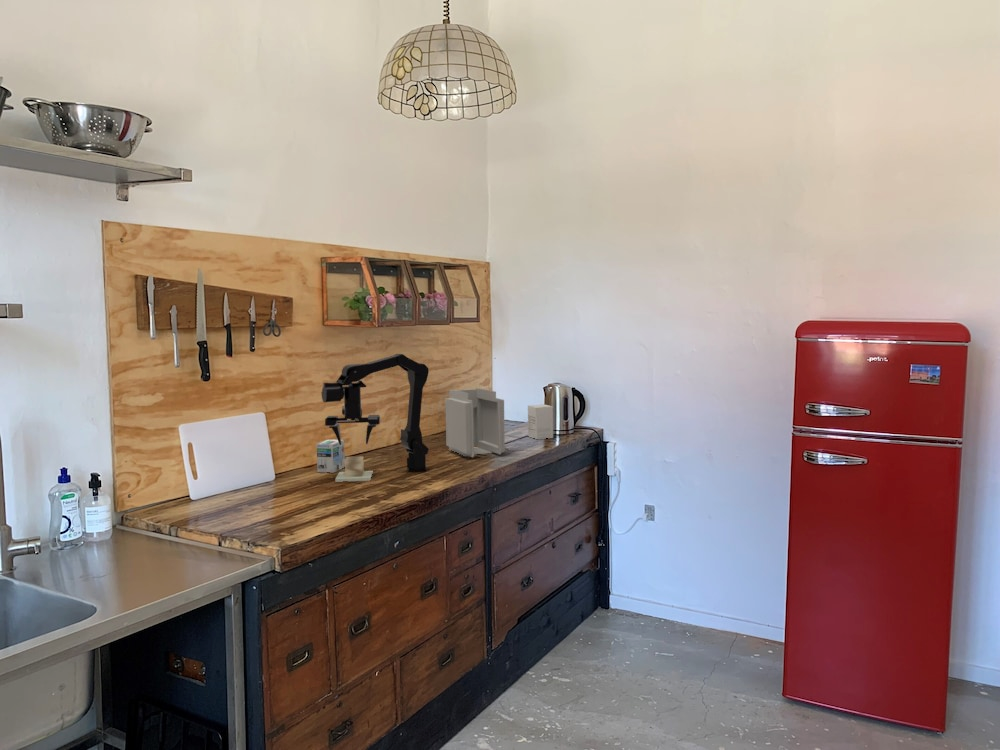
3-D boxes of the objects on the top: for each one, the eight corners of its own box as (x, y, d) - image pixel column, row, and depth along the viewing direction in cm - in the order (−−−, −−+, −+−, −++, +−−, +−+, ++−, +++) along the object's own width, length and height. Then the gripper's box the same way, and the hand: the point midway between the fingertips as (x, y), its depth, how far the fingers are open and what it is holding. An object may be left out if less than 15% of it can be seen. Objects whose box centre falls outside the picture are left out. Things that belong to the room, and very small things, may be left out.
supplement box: (544, 435, 347) (544, 404, 346) (553, 438, 339) (553, 406, 337) (527, 437, 343) (527, 405, 342) (536, 439, 335) (535, 407, 334)
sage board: (373, 473, 267) (372, 470, 267) (370, 480, 255) (370, 477, 255) (339, 474, 266) (339, 471, 266) (335, 481, 254) (335, 479, 254)
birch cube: (364, 472, 264) (363, 456, 263) (362, 476, 258) (362, 459, 257) (347, 473, 263) (346, 456, 263) (345, 476, 257) (344, 460, 257)
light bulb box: (333, 473, 269) (332, 444, 268) (316, 472, 270) (315, 443, 269) (345, 467, 279) (344, 439, 278) (329, 466, 281) (328, 438, 280)
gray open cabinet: (478, 446, 320) (477, 386, 318) (506, 456, 297) (505, 392, 295) (442, 449, 313) (440, 389, 311) (467, 460, 289) (466, 394, 287)
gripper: (380, 397, 267) (381, 439, 269) (328, 398, 266) (329, 441, 267) (378, 400, 256) (379, 445, 258) (324, 402, 255) (325, 446, 256)
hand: (353, 444), depth 260 cm, fingers open, 9 cm apart
